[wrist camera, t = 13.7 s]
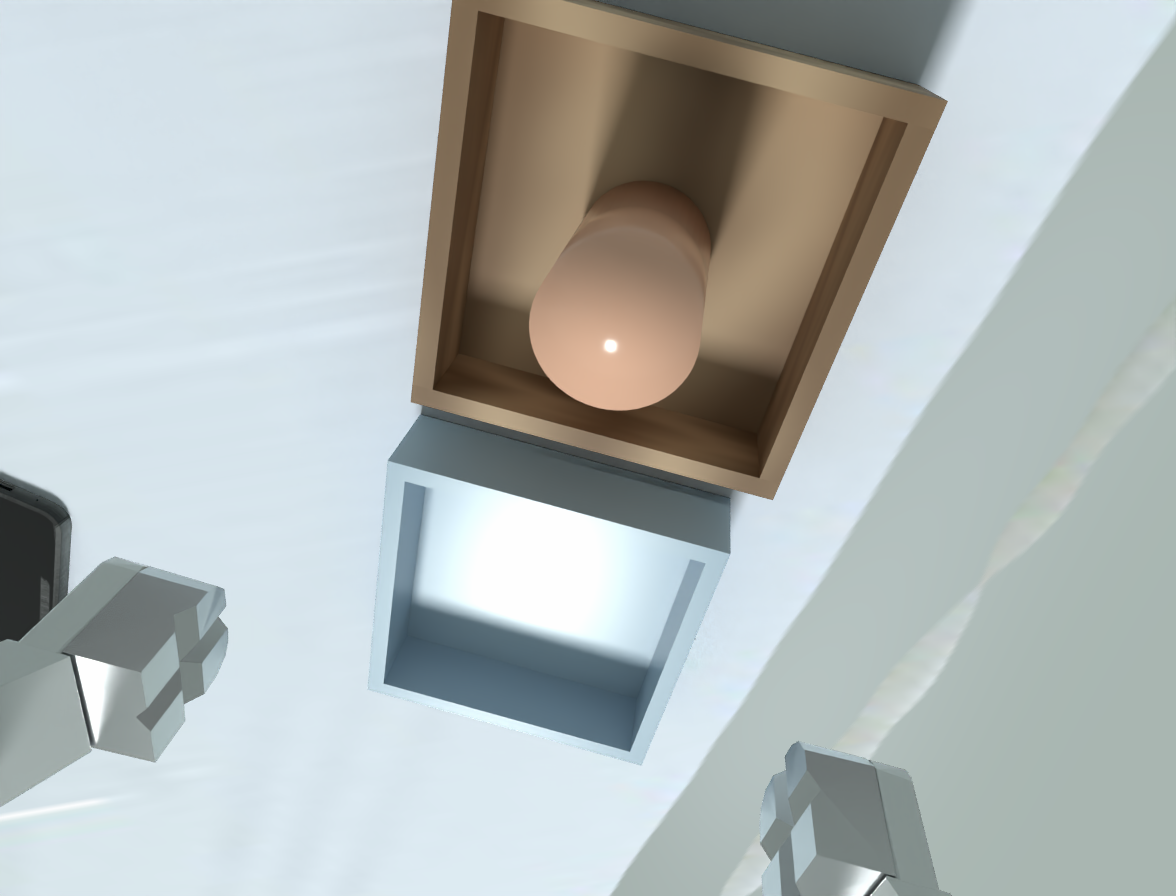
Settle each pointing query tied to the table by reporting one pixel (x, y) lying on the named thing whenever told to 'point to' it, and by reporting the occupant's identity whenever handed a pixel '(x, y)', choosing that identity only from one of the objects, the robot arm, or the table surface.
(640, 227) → the orange-tan rounded cylinder
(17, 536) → the phone
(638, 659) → the bin
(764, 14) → the table surface
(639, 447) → the tray
